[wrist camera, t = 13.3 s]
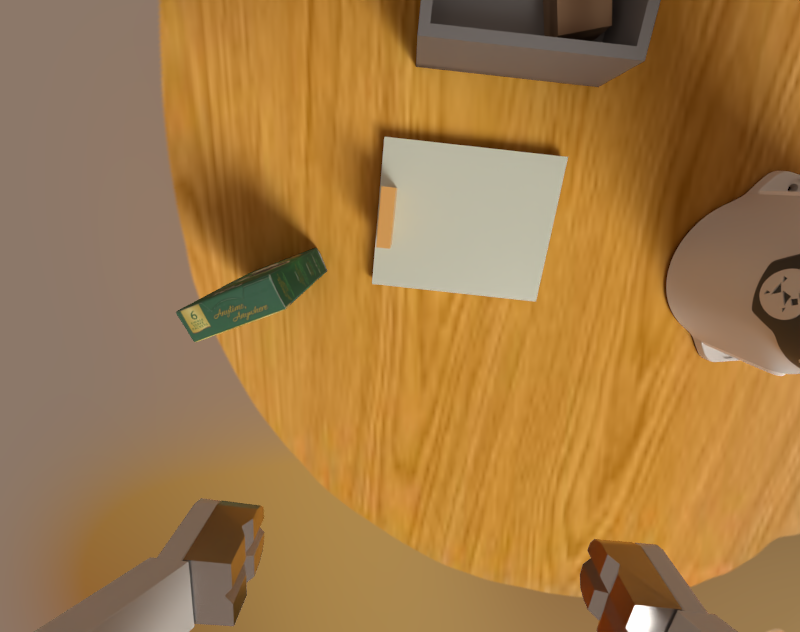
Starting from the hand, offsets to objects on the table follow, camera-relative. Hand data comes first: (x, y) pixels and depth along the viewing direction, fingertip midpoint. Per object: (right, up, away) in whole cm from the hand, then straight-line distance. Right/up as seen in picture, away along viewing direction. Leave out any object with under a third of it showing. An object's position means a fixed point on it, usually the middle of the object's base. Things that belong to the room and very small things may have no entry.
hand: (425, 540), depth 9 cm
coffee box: (-12, +10, +30) cm, 34 cm away
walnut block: (+13, +30, +22) cm, 39 cm away
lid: (+5, +15, +27) cm, 32 cm away
